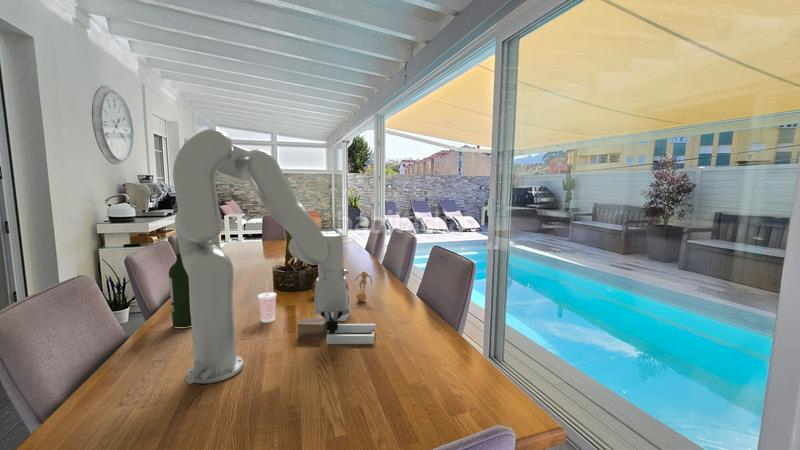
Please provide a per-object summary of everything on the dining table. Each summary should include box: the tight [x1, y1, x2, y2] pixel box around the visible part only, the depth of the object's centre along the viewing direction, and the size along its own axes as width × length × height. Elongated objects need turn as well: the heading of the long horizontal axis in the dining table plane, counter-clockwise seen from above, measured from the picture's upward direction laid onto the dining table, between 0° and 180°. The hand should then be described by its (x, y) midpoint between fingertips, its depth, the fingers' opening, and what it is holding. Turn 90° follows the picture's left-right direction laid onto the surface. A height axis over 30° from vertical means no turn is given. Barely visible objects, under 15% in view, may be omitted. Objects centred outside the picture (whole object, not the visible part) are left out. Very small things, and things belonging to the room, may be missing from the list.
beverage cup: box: [257, 280, 277, 323], centre depth 124 cm, size 6×6×14 cm
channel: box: [325, 323, 376, 345], centre depth 111 cm, size 9×14×2 cm, turn 90°
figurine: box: [353, 271, 373, 303], centre depth 144 cm, size 8×6×12 cm
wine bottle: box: [168, 236, 192, 328], centre depth 119 cm, size 8×8×30 cm
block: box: [297, 317, 329, 341], centre depth 112 cm, size 5×8×5 cm, turn 87°
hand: (332, 332), depth 111 cm, fingers closed
